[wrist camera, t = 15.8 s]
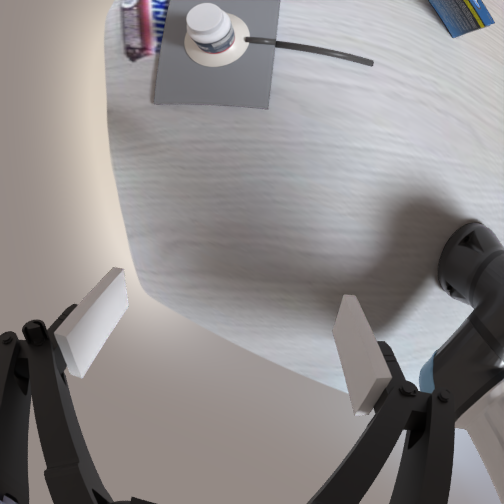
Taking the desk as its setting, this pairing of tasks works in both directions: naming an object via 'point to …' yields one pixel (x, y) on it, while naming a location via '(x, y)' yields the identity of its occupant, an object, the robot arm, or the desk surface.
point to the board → (225, 57)
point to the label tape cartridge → (462, 15)
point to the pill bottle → (210, 28)
